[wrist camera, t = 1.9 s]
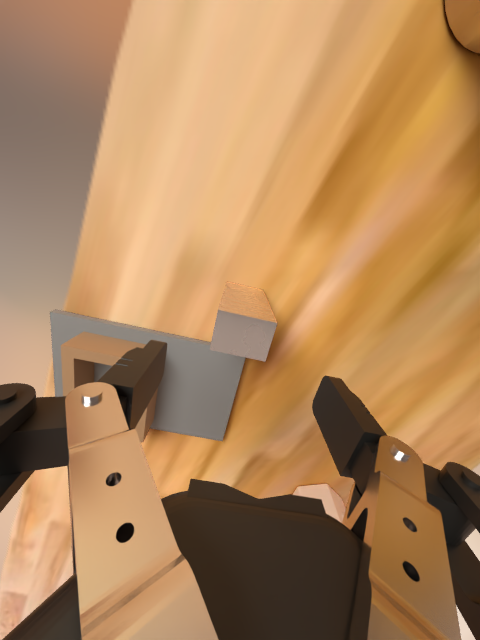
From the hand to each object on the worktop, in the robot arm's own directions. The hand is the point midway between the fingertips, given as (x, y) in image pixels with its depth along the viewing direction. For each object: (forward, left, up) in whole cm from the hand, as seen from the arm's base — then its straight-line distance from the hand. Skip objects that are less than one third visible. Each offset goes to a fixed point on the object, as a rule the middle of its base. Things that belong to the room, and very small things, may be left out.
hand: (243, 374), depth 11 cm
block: (+1, 0, -14) cm, 14 cm away
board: (+13, -9, -14) cm, 21 cm away
